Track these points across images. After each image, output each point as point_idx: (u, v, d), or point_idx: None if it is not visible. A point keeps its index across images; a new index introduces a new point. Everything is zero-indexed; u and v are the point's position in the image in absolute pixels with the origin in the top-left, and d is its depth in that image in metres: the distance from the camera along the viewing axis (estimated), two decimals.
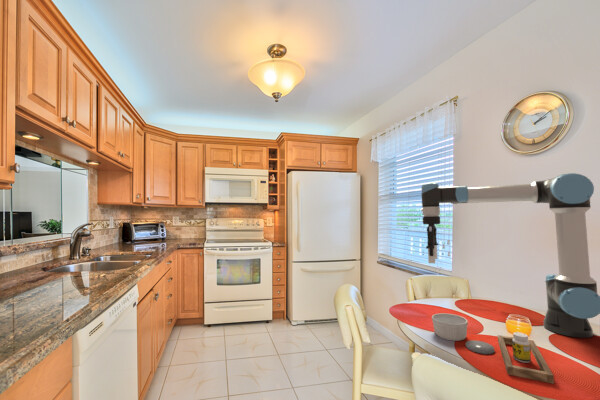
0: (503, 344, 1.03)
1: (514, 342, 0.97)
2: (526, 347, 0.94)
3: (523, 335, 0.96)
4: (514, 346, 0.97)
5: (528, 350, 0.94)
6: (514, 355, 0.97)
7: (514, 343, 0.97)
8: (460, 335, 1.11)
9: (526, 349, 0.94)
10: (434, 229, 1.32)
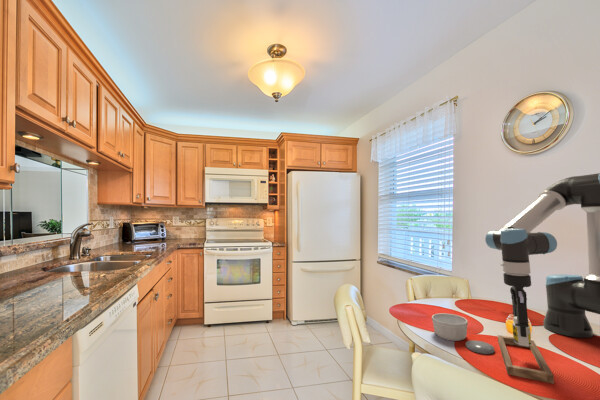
0: (503, 344, 1.03)
1: (514, 326, 0.97)
2: None
3: None
4: (514, 330, 0.97)
5: (528, 334, 0.95)
6: (515, 339, 0.97)
7: (514, 327, 0.97)
8: (460, 335, 1.11)
9: None
10: (524, 294, 0.95)
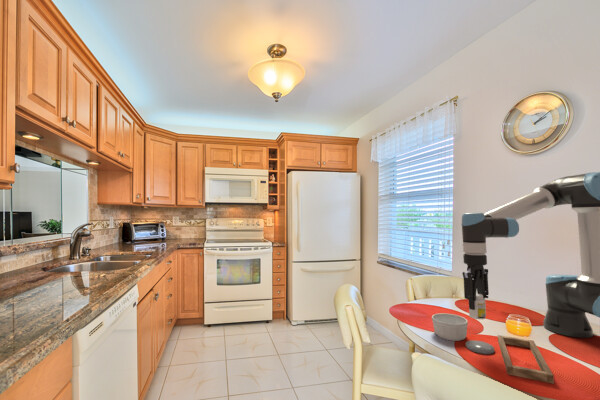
0: (503, 344, 1.03)
1: None
2: None
3: (477, 295, 1.05)
4: None
5: (479, 308, 1.04)
6: None
7: None
8: (460, 335, 1.11)
9: None
10: (476, 272, 1.04)
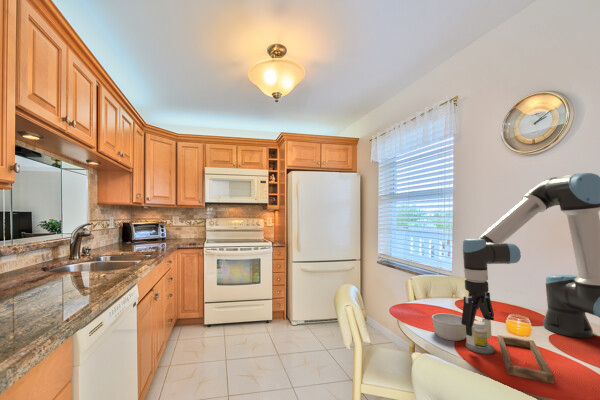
0: (503, 344, 1.03)
1: None
2: (479, 334, 1.03)
3: (479, 323, 1.04)
4: None
5: (481, 337, 1.03)
6: None
7: None
8: (460, 335, 1.11)
9: (479, 335, 1.03)
10: (477, 299, 1.04)
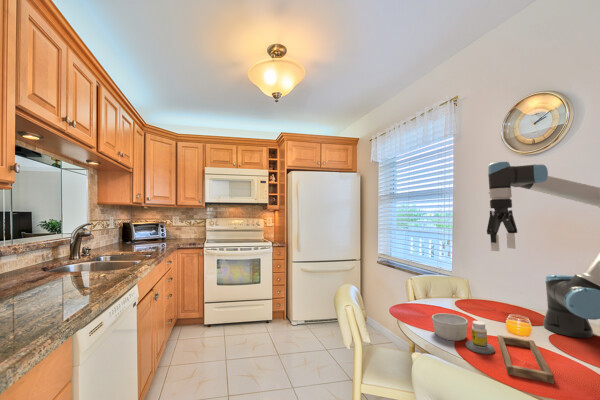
0: (503, 344, 1.03)
1: None
2: (479, 334, 1.03)
3: (479, 323, 1.04)
4: None
5: (481, 337, 1.03)
6: None
7: None
8: (460, 335, 1.11)
9: (479, 335, 1.03)
10: (502, 213, 1.17)
